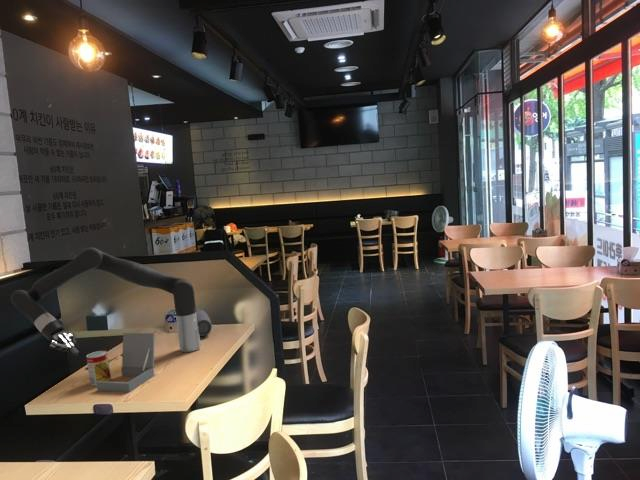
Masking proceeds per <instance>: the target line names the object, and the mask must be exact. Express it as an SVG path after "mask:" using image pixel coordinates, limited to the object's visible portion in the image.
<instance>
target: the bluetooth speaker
mask: <svg viewBox="0 0 640 480" xmlns="http://www.w3.org/2000/svg"><path fill="white" fill-rule="evenodd" d="M196 317H197V325H198V327H199V335H200V336H207V335H208V334H210V333H211V331H212V327H213V326H212V321H211V318H210V316H209V314H208V313H206V311H204V310H203V309H198V310H197V309H196Z"/></svg>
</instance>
